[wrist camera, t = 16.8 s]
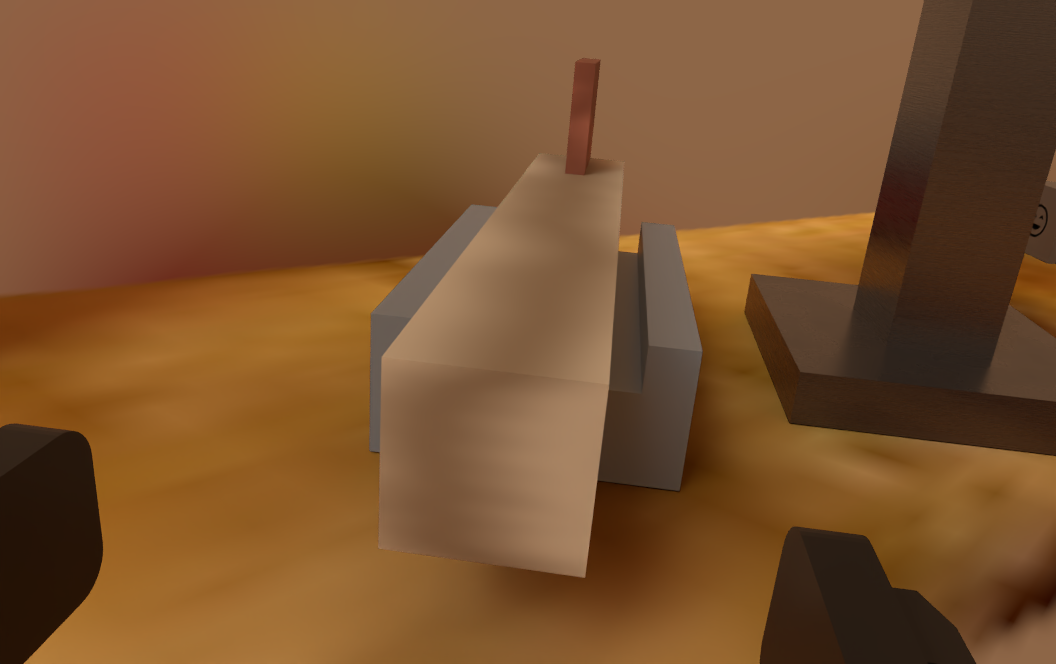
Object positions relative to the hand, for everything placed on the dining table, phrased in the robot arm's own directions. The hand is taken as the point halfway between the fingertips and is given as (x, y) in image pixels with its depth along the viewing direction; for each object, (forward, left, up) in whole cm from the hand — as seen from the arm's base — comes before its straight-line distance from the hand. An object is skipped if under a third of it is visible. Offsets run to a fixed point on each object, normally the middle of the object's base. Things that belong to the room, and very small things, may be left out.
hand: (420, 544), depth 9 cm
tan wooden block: (0, +18, -4) cm, 19 cm away
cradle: (0, +22, -7) cm, 23 cm away
